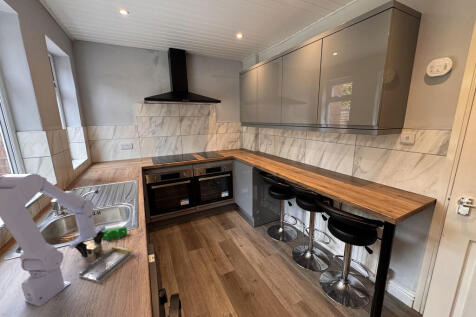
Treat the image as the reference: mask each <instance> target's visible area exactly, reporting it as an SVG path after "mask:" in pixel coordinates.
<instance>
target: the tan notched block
mask: <svg viewBox="0 0 476 317" xmlns="http://www.w3.org/2000/svg"><path fill="white" fill-rule="evenodd" d="M84 244H87V255H88V257H86V259H91V260H94V261H96V260H97V255H100V256H103V255H104V251H103V245H102V243H101V244H98V243H95V242H94V241H90V240H89V241H86V242H84ZM80 256H81V257H82V258H84V257H83V256H82V255H81V254H80Z"/></svg>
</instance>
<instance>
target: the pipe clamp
mask: <svg viewBox="0 0 476 317" xmlns="http://www.w3.org/2000/svg"><path fill="white" fill-rule="evenodd" d="M102 232H104V236H103V238H102V241H105V240H107V242H111V240H113V239H117V240H120V239H121V237H124V235H125V236H127V235H128V230H127V226H123V227H117V228H113V229H105V230H102Z"/></svg>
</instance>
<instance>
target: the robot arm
mask: <svg viewBox="0 0 476 317" xmlns="http://www.w3.org/2000/svg"><path fill="white" fill-rule="evenodd" d="M38 193H40V194H42V195H45V196H48V197H51V198H53V199H55V200H56V204H58V205H60V206H61V207H64V208H67V209H68V210H69V212H70V213H73V214H74V217H75V221H76V225H77V230H78V235H79V236H77V237H76V238H75V239H74V240H72V241H71V242H69V243H68V247H69V249H72V250H73V249H76V250H77V251H78V252H79V253H80V256H81V255H82V256H83V257H82V256H81V257H82V258H86V257H88V255H87V244H85V241H87V240H89V239H93V243H98V244H101V245H102V242H103V240H102V238H103V236H104V232H102V231H106V226H105V225H103V224H101V225H99V226H97V227H96V226H95V221H94V216H93V214H94V207H95V203H94V202H93V201H92V200H90V199H85V198H84V196H82V195H78V194H76V191H74V190H65V191H64V190H63V189H61V188H59V187H58V186H56V185H55V184H54V183H51V182H50V181H48V179H47V178H46V177H43V176H42V175H41V174H38V173H23V174H21V173H18V174H13V173H7V174H3V175H1V176H0V220H1V221H2V222H3V223H4V225H5V227H6V228H7V229H8V231H9V233H10V234H11V235H12V237H13V238H14V240H15V241H16V243H17V245H18V246H19V247H20V250H22V253H21V254H20V256H19V259H20V266H21V267H20V268H21V269H22V270H23V271H25V272H27V271H28V274H29V277H27V279H25V280H24V281H23V282H22V283H21V285H20V286H21V289H22V293H23V295H24V302H26V303H29V304H31V305H34V306H36V307H41V306H43V305H44V304H46V303H47V302H48V301H49V300H51V299H53V298H54V297H55V296H56V295H57V294H59V293H61V291H63V290H64V289H66V288H67V287H68V286H70V285H71V282H70V281H68V280H64V277H63V276H64V275H63V274H62V269H61V265H62V263H63V260H64V253H63V252H62V251H60V250H58V248H57V247H56V246H54V245H52V244H51V243H47V241H46V239H45V238H44V236H43V235H42V233H41V231H40V229H39V228H38V226H37V224H36V222H35V220H34V219H33V217H32V216H31V213H30V212H29V211H28V209H27V207H26V205H27V204H28V203H30V201H31V200H32V199H34V197H35V196H36V195H37V194H38ZM86 259H87V258H86Z"/></svg>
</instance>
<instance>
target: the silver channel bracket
mask: <svg viewBox="0 0 476 317" xmlns="http://www.w3.org/2000/svg"><path fill="white" fill-rule="evenodd" d="M132 256H134V252H133V249H131V248H127V247H126V248H125V247H121V246H116V245H113V246H112V247H111V249H110V250H108V251H107V252H105V253H103V254H102V255H100V257H98V258H96V259H95V260H94V261H93V262H91V263H90V264H89V265H87V266H86V267H85V268H83V269H82V270H80V271H79V272H78V273H77V274H78V278H80V279H84V280H86V281H87V280H88V281H89V282H90V281H91V282H94V283H97V284H101V283H102V282H103V281H104V280H106V278H107V277H110V276H111V274H113V273H114V272H115V271H116V270H117V269H118V268H120V267H121V266H122V265H123V264H124V263H125V262H126V261H128V260H129V259H130V258H131V257H132Z"/></svg>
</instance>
